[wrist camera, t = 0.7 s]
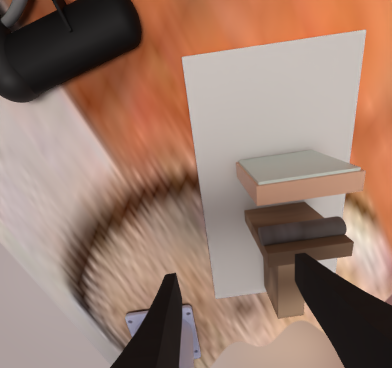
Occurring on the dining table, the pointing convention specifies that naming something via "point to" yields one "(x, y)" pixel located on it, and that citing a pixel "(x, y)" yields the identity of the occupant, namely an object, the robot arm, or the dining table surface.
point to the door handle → (62, 44)
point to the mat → (266, 134)
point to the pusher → (293, 248)
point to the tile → (297, 177)
